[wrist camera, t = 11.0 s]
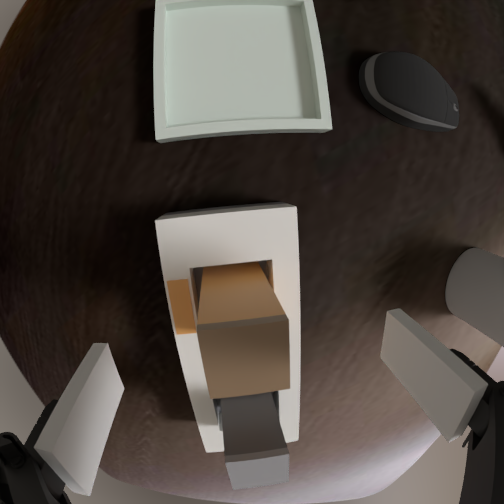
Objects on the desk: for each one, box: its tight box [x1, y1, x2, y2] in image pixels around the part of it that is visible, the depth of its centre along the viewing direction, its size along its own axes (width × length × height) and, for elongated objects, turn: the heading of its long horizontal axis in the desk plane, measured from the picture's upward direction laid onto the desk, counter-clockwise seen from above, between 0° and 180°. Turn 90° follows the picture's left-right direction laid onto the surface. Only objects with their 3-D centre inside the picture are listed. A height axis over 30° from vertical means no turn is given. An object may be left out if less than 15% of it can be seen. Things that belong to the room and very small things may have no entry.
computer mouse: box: [359, 52, 459, 132], centre depth 20 cm, size 7×12×4 cm, turn 85°
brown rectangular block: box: [196, 261, 290, 399], centre depth 17 cm, size 4×4×10 cm
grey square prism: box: [221, 392, 289, 490], centre depth 20 cm, size 4×4×10 cm
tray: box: [153, 0, 332, 143], centre depth 19 cm, size 13×13×2 cm
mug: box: [445, 248, 504, 347], centre depth 23 cm, size 12×8×11 cm
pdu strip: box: [155, 202, 300, 452], centre depth 23 cm, size 22×9×5 cm, turn 4°
